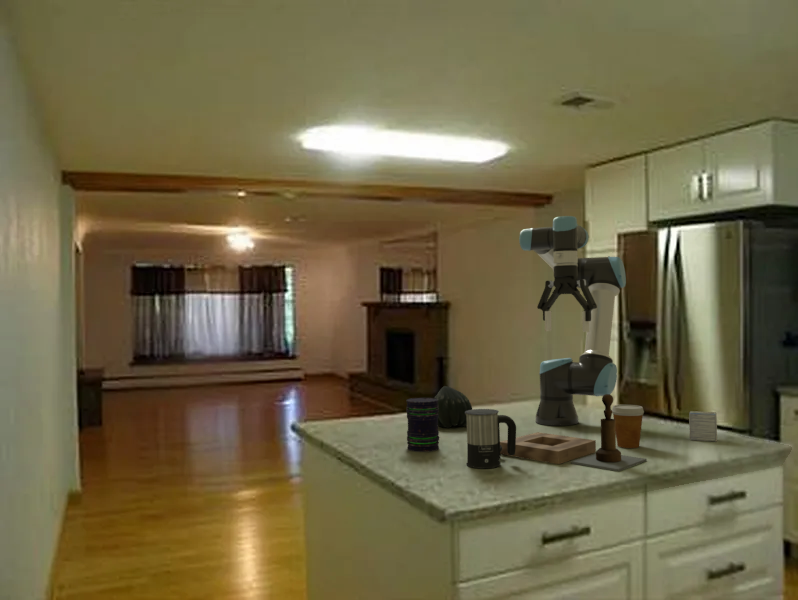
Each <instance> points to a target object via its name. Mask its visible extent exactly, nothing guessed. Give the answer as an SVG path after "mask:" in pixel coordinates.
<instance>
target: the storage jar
mask: <svg viewBox="0 0 798 600" xmlns="http://www.w3.org/2000/svg"><path fill="white" fill-rule="evenodd" d="M405 408H406V418H407V431H406V433H407V434H406V435H407V436H406V441H407V442H406V443H407V450H408V451H410V452H415V453H417V452H418V453H429V452H430V453H431V452H435V451H438V450H440V447H439V445H440V444H439V443H440V436H439V435H440V433H439V428H438V427H439V426H438V416H439V415H438V412H439V408H438V399H436V398H435V397H411V398H407V399H406V407H405Z"/></svg>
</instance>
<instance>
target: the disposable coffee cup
mask: <svg viewBox="0 0 798 600" xmlns="http://www.w3.org/2000/svg"><path fill="white" fill-rule="evenodd" d="M611 410H612V416H613V417H612V418H613V419H615V432H616V447H619V448H621V449H637V448H639V447H640V443H641V434H642V433H641V432H642V427H643V426H642V424H643V415H644V413H645V411H644V408H643V406H641V405H637V404H616V405H612V408H611Z"/></svg>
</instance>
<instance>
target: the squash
mask: <svg viewBox="0 0 798 600" xmlns="http://www.w3.org/2000/svg"><path fill="white" fill-rule="evenodd" d="M434 398H436V399H438V408H439V412H438V415H439V416H438V427H440V428H446V429H447V428H448V429H449V428H452V426H458V427H465V426H467V416H466V414H465V412H466V411H468V410H473V406H472V404H471V402H470V399H469V398H468V397H467V396H466V395H465V394H464V393H463V392H461V391H459V390H457V389H455V388H453V387H450V386H446V385H444V386H443V387H441V388H440V389H439V391H438V392H437V394H436V395H435V396H434Z"/></svg>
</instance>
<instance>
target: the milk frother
mask: <svg viewBox="0 0 798 600" xmlns="http://www.w3.org/2000/svg"><path fill="white" fill-rule="evenodd" d="M499 412H500V411H499V410H498V409H491V408H477V409H473V408H472V410H468V411H466V412H465V414H466V416H467V425H466V439H467V441H466V442H467V456H466V457H467V460H466V466H467V467H468V468H469V467H470V468H474V469H494V468H498V467H499V466H501V461H500V459H501V454H500V452H501V450H502V446H501V445H500V442H501V437H500V435H501V434H500V432H501V429H500V424H502V423H503V424H506V426H507V439H506V440H507V452H508V454H509V455H514V454H515V447H516V438H517V425H516V422H515V421H514V419H513V418H512V417H510V416H509V415H505V414H499ZM509 455H508V456H509Z"/></svg>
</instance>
